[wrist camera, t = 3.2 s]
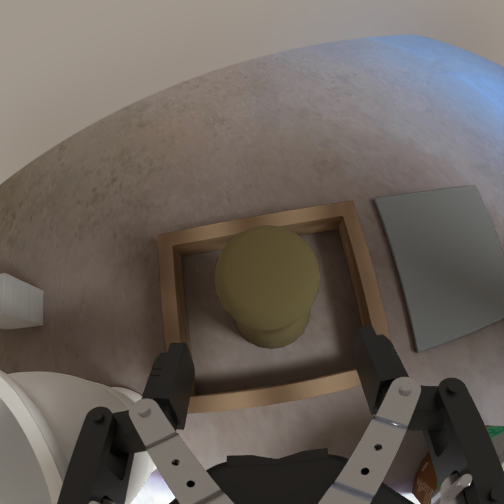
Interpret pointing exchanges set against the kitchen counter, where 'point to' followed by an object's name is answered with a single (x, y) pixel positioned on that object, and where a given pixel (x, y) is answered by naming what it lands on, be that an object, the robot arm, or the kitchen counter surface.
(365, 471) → the robot arm
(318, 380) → the frame
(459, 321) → the mat
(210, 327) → the kitchen counter surface
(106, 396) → the jar
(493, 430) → the food container
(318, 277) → the olive pawn figure
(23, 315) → the white tea box
